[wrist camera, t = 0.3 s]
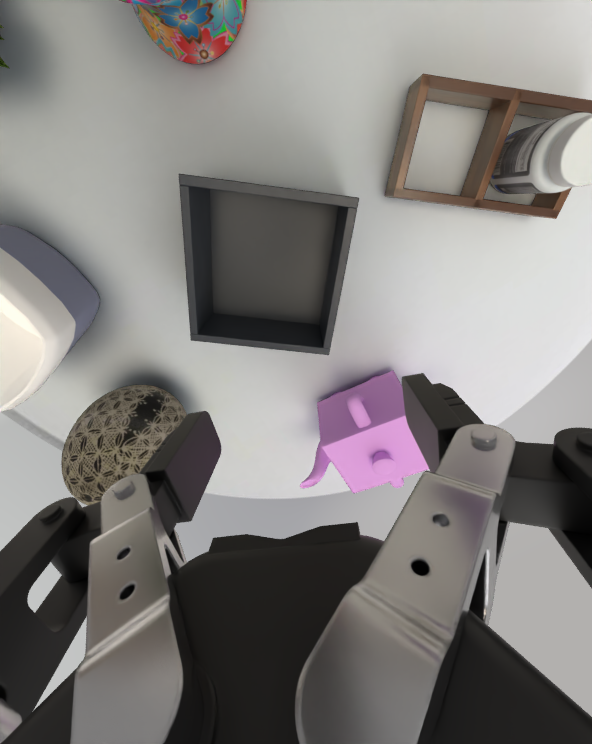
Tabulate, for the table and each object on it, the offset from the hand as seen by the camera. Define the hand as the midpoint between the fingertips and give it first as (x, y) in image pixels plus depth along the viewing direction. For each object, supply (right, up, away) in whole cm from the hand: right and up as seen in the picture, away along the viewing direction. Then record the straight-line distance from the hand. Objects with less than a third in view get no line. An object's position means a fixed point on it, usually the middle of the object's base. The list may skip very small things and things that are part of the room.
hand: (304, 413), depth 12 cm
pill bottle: (+19, +20, +15) cm, 32 cm away
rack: (+16, +21, +14) cm, 30 cm away
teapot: (+9, -3, +28) cm, 30 cm away
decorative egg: (-19, -2, +29) cm, 34 cm away
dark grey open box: (-3, +13, +19) cm, 23 cm away
